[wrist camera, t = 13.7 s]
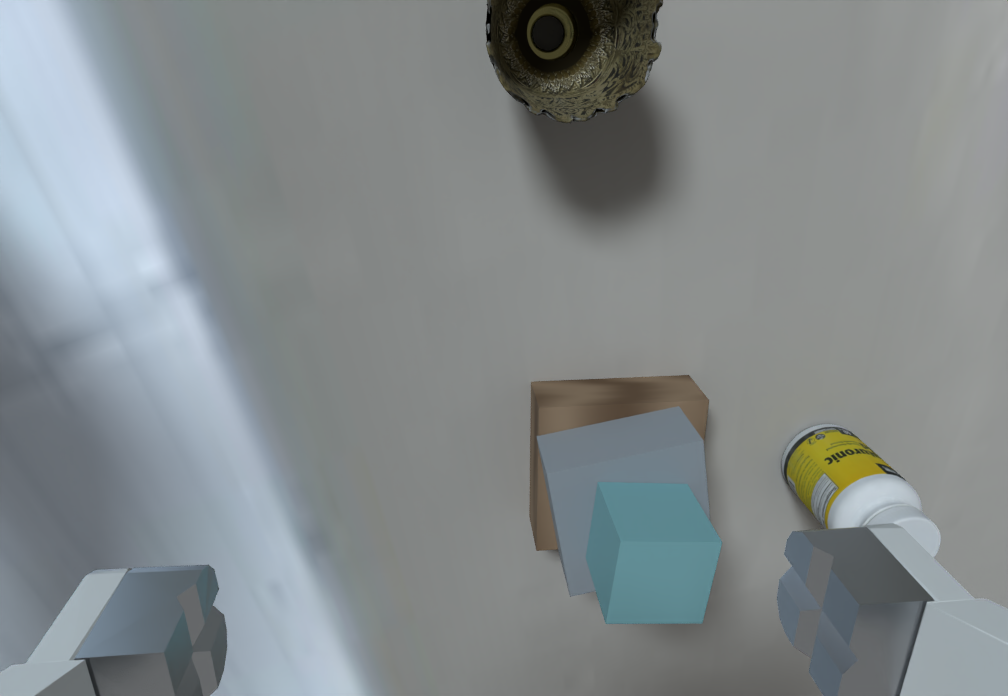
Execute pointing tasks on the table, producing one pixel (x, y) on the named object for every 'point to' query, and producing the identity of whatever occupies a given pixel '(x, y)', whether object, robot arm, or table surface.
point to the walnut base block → (598, 421)
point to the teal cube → (651, 553)
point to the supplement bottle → (853, 485)
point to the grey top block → (614, 473)
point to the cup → (573, 54)
